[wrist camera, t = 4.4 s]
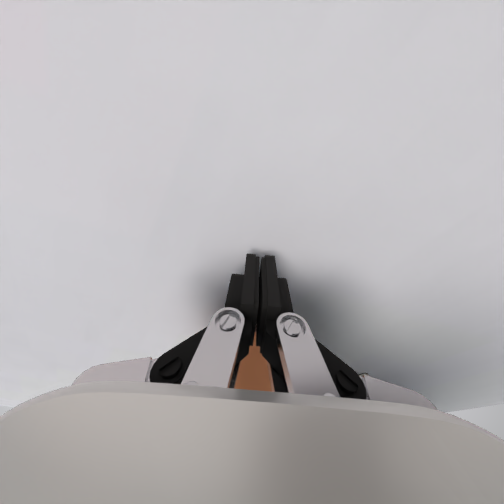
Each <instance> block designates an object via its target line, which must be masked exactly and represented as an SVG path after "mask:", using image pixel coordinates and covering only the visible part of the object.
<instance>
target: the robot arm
mask: <svg viewBox="0 0 504 504" xmlns="http://www.w3.org/2000/svg"><path fill="white" fill-rule="evenodd" d="M255 328H256V346H260V353H262V356H263V357H264V358H265V359H266V360H267V367H268V372H269V378H270V384H271V390H272V392H271V391H258V390H246V389H235V385H236V381H237V377H238V373H239V368H240V364H241V360H243V359H244V358H245V357H246V356H247V355H248V354H249V347H250V346H253V342H254V335H255ZM0 504H504V440H502V439H500V438H499V437H497V436H496V435H494V434H492V433H490V432H488V431H487V430H485V429H483V428H481V427H479V426H476V425H474V424H472V423H470V422H468V421H466V420H463V419H461V418H458V417H456V416H454V415H451V414H448V413H445V412H442V411H438V410H437V408H436V407H435V406H434V405H433V404H432V403H431V402H430V400H428V399H427V398H426V397H424V396H423V395H422V394H420V393H418V392H416V391H414V390H411V389H408V388H405V387H401V386H398V385H395V384H392V383H389V382H386V381H383V380H379V379H376V378H373V377H370V376H367V375H363V377H362V376H359V375H358V374H357V373H356V372H355V371H354V370H353V369H352V368H350V367H349V366H348V365H347V364H345V363H344V362H343V361H342V360H340V359H339V358H338V357H337V356H335V355H334V354H333V353H332V352H330V351H329V350H328V349H327V348H325V347H324V346H323V345H322V344H320V343H319V342H318V341H317V340H316V339H314V336H313V334H312V332H311V329H310V327H309V325H308V323H307V322H306V320H305V319H304V318H303V317H301V316H300V315H298V314H295V313H293V309H292V304H291V299H290V294H289V289H288V284H287V280H286V278H277V271H276V263H275V256H268V255H265V258H264V257H262V259H261V266H260V274H259V257H256V254H247V257H246V265H245V273H244V275H241V274H232V276H231V280H230V285H229V290H228V294H227V299H226V303H225V308H222V309H220V310H218V311H217V312H215V313H214V315H213V316H212V318H211V320H210V323H209V325H208V327H206V328H204V329H203V330H201V331H200V332H198V333H196V334H195V335H193V336H192V337H190V338H188V339H187V340H185V341H184V342H182V343H180V344H179V345H177V346H176V347H174V348H172V349H171V350H169V351H168V352H166V353H164V354H163V355H162V356H160V357H159V358H157V359H152V358H151V357H147V358H140V359H134V360H127V361H120V362H113V363H107V364H100V365H97V366H93V367H91V368H89V369H88V370H86V371H84V372H83V373H82V374H81V375H80V376H78V377H77V378H76V380H75V381H74V382H73V384H72V385H71V386H68V387H64V388H60V389H57V390H54V391H51V392H48V393H45V394H42V395H40V396H37V397H35V398H32V399H30V400H28V401H26V402H24V403H21V404H19V405H18V406H16V407H14V408H12V409H11V410H9V411H7V412H6V413H4V414H3V415H2V416H0Z"/></svg>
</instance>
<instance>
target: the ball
mask: <svg viewBox="0 0 504 504" xmlns="http://www.w3.org/2000/svg"><path fill="white" fill-rule="evenodd" d="M235 389H246V390H258V391H271V392H272V390H271V384H270V378H269V372H268V367H267V360H266V359H265V358H264V357H263V356H262V353H260V346H256V331H255V335H254V342H253V346H250V347H249V354H248V355H247V356H246V357H245V358H244V359H243V360H241V364H240V368H239V373H238V377H237V381H236V385H235Z"/></svg>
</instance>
